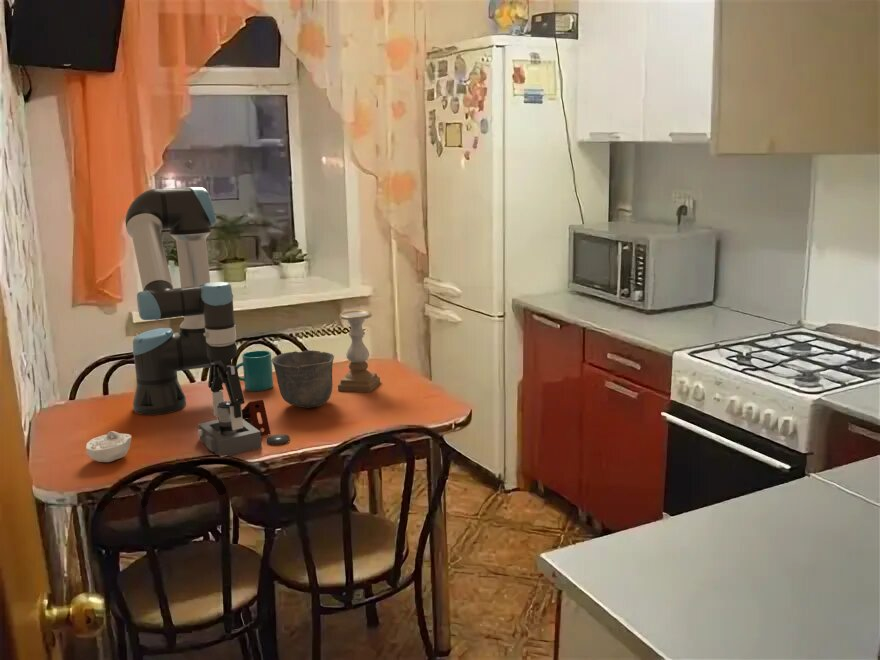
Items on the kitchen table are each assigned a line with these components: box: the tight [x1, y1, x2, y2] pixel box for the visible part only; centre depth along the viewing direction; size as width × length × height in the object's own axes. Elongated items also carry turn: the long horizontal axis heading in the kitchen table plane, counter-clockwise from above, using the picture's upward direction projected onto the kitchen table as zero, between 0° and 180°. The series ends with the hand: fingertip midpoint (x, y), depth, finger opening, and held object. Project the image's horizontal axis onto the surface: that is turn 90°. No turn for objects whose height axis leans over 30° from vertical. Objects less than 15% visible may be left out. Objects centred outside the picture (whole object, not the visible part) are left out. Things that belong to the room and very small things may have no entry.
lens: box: [217, 400, 239, 436], centre depth 218 cm, size 5×5×9 cm
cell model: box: [85, 430, 132, 463], centre depth 211 cm, size 10×12×7 cm
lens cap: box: [266, 433, 291, 446], centre depth 221 cm, size 6×6×1 cm
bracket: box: [216, 399, 271, 437], centre depth 231 cm, size 10×14×10 cm
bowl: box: [271, 349, 335, 409], centre depth 247 cm, size 18×18×15 cm
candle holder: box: [337, 310, 381, 393], centre depth 264 cm, size 11×11×24 cm
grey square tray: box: [197, 419, 263, 457], centre depth 219 cm, size 16×12×4 cm
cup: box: [236, 350, 274, 392], centre depth 266 cm, size 9×12×11 cm
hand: (228, 421), depth 218 cm, fingers open, 13 cm apart
